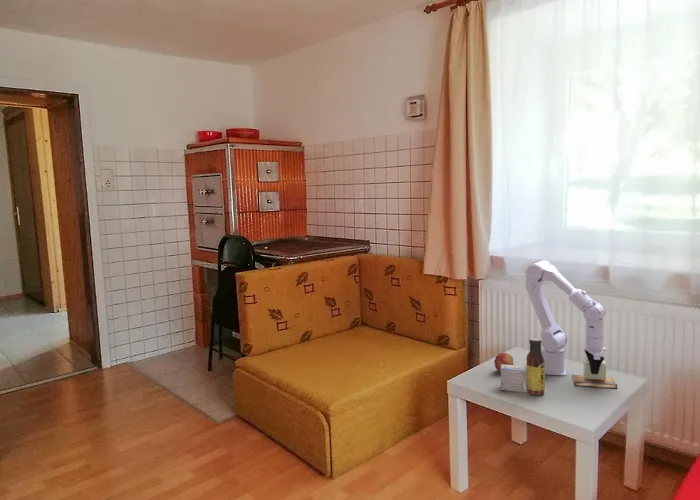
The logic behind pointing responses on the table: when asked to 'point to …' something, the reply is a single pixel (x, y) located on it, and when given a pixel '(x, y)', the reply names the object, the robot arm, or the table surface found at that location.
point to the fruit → (503, 360)
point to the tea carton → (589, 375)
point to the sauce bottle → (535, 368)
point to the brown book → (594, 382)
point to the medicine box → (512, 378)
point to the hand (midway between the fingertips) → (593, 371)
